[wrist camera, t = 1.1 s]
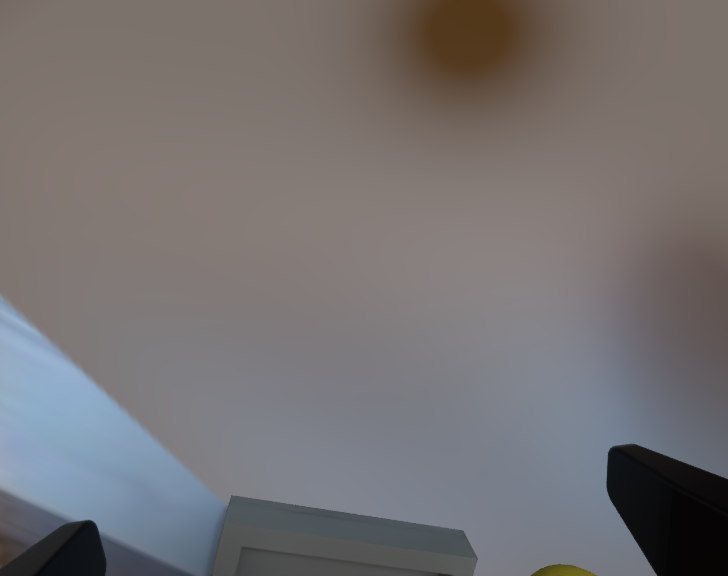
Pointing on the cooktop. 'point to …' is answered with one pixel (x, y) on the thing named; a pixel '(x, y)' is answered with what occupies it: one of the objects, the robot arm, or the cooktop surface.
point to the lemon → (562, 571)
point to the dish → (333, 544)
